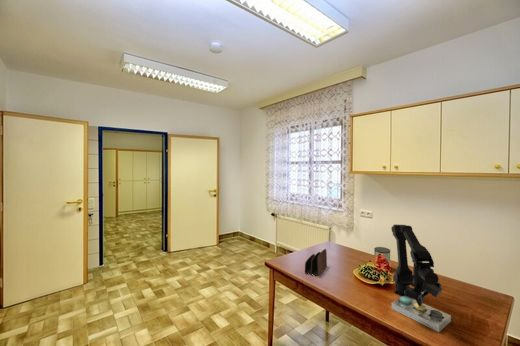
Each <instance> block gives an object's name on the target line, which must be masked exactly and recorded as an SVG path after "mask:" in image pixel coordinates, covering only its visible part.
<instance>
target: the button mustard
mask: <svg viewBox="0 0 520 346" xmlns="http://www.w3.org/2000/svg"><path fill="white" fill-rule="evenodd" d="M423 304H424V303H423ZM423 304H422V305H421V306H419V305H418V304H417V303H415V304H414V307H415V310H417V311H419V312H421V313H424V312H425V310H426V307H425V306H424V305H423Z"/></svg>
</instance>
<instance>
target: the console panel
mask: <svg viewBox="0 0 520 346" xmlns="http://www.w3.org/2000/svg"><path fill="white" fill-rule="evenodd" d="M402 297H407V298H409V299H410V305H409V306H406V305H404V304H402V303H400V297H399V298H398V299H396V300H394V301H393V302H391V310H393V311H396V312H397V313H399V314H402V315H403V316H406V317H408V318H409V319H411V320H413V321H416V322H417V323H420V324H422V325H423V326H426V327H428V328H430V329H431V330H434V332H435V331H436V332H437V333H440V332H441V331H442V330H443V329H445V328H446V326H448V325H449V324H450V323H451V322H452V315H451V314H448V313H447V312H444V311H441V310H439V309H438V308H437V309H436V308H435V307H433V306H430V305H427V304H425V303H424V302H423V303H422V304H423V305H424V306H425V307H426V310H425V312H424V313H421V312H419V311H417V310H415V307H414V304H415V303H417V302H416V300H415V299H414V298H412V297H410V296H405V295H404V296H402ZM431 310H436V311H439V312H441V313H442V320H441V321H439V320H437V319H434V318H432V317H431V314H430V311H431Z"/></svg>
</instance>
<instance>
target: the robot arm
mask: <svg viewBox="0 0 520 346" xmlns="http://www.w3.org/2000/svg"><path fill="white" fill-rule="evenodd" d="M391 232H392V236H393V237H394V238H395V240H396V249H397V250H396V251H397V263H398V265H397V267H396V269H395V273H394V275H393V276H392V279H393V282H394V283H395V291H393V293H395V294H398V295H399V296H400V297H403V296H404V295H405V296H407V297H409V298H412V299H414V300H416V302H417V304H418V305H419V306H421V305H422V303H423V304H424V300H425V297H426V296H428V295H429V294H430V295H431V296H432V297H434V298H437V297H438V296H440V295H441V293H442V291H443V287H442V283H440V282H439V281H440V280H439V275H437V274H436V273H435V272H434V271H435V270H434V269H433V268H435V265H434V264H435V262H434V259H433V257H432V255H431V252H430V251H429V250H428V249H427V248H426V247H425V246H424V245H422V244H421V243H420V241H419V239H418V237H417V236H416V234H415V232H414V231H413V227H412V226H411V225H406V224H393V225H392V226H391ZM406 242H407V243H406ZM407 245H409V248H410V252H409V253H410V257H411V262H412V263H413V268H412V269H413V271H412V269H411V268H410V267H409V263H408V262H409V261H408V254H407V253H408V252H407V251H408V250H407Z"/></svg>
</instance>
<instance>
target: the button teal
mask: <svg viewBox="0 0 520 346" xmlns="http://www.w3.org/2000/svg"><path fill="white" fill-rule="evenodd" d="M407 297H408V296H407ZM407 297H403V296H400V297H399V298H400V303H402V304H404V305H406V306H409V305H410V299H409V298H410V297H409V298H407Z"/></svg>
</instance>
